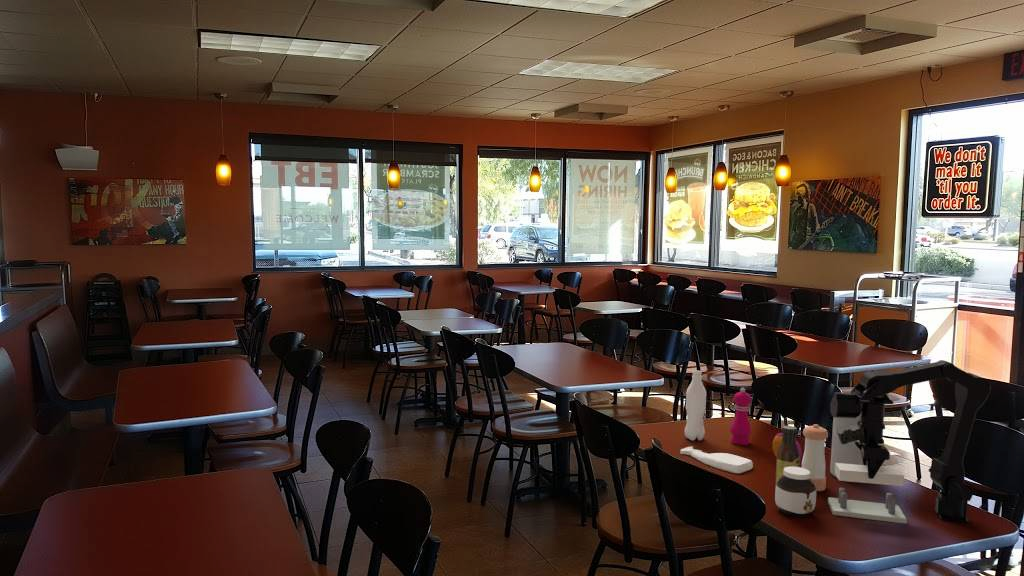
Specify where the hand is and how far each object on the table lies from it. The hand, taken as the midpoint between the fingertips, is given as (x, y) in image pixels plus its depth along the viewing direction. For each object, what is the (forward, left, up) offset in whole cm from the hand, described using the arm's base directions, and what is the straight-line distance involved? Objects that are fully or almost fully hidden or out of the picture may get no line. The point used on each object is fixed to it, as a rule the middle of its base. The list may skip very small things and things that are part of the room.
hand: (868, 474), depth 200 cm
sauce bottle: (+20, -7, -11) cm, 24 cm away
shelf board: (0, 0, -1) cm, 1 cm away
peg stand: (0, 0, -11) cm, 11 cm away
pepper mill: (+32, -55, -11) cm, 65 cm away
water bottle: (+48, -54, -11) cm, 73 cm away
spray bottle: (+41, -31, -11) cm, 52 cm away
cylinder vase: (-1, -30, -11) cm, 32 cm away
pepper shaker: (+12, -16, -11) cm, 23 cm away
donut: (+18, -36, -11) cm, 42 cm away
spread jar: (+19, +4, -11) cm, 22 cm away
